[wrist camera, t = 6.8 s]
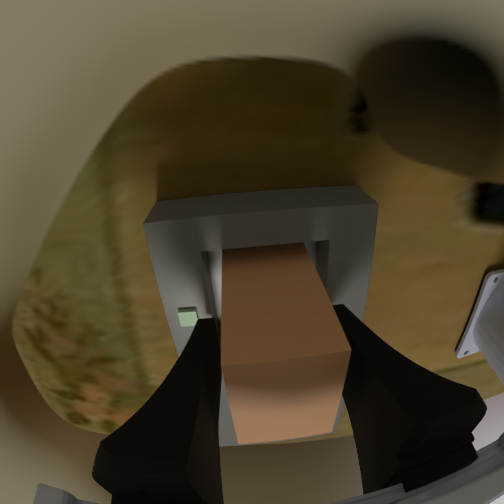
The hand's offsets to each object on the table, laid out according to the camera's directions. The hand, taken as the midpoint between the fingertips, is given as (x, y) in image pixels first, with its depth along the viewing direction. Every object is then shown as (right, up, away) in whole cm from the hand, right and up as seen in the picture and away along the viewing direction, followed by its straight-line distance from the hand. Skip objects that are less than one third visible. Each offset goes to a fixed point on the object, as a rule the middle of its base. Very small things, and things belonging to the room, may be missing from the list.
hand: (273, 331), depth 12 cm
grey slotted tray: (0, -2, +5) cm, 6 cm away
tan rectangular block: (0, +1, +3) cm, 3 cm away
